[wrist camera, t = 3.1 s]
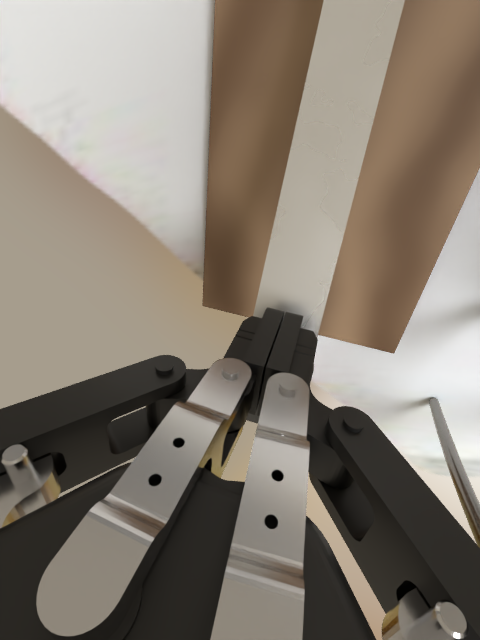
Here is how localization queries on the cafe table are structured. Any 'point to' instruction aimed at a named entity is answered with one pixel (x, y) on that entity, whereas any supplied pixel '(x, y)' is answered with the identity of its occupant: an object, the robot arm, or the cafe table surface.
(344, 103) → the tong arm
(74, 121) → the cafe table surface
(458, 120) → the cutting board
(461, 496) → the juicer
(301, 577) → the robot arm
